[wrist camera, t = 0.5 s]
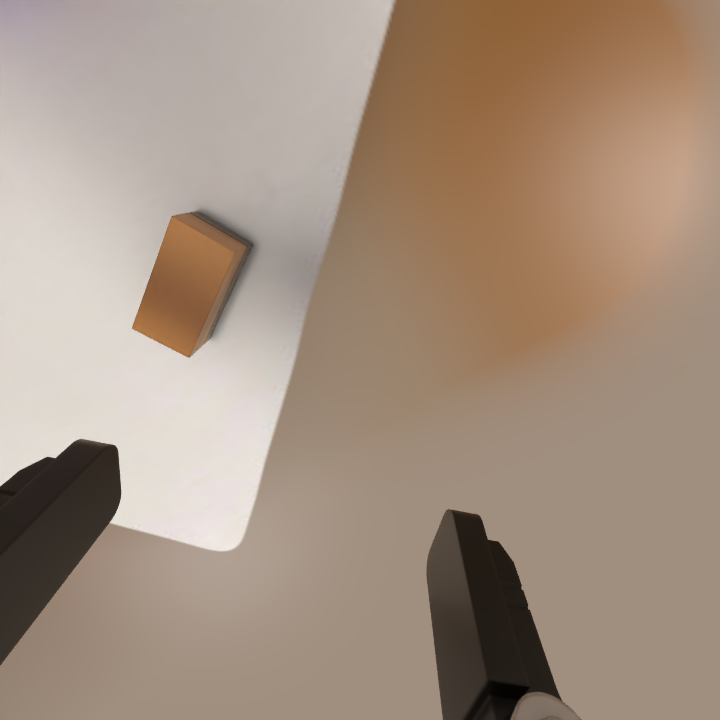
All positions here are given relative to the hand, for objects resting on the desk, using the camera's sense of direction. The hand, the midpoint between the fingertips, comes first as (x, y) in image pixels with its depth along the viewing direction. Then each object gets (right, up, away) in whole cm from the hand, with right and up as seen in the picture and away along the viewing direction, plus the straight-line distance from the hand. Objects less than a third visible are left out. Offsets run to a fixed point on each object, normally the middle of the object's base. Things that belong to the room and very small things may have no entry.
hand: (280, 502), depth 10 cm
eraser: (-7, +8, +14) cm, 18 cm away
